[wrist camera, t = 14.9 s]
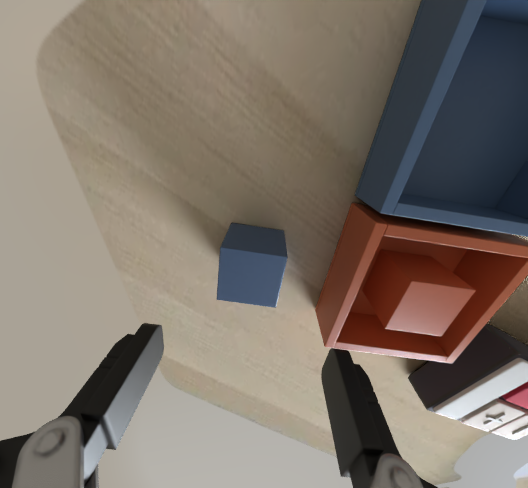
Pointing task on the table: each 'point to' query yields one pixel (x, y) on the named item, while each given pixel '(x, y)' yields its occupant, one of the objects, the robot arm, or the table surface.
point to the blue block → (251, 265)
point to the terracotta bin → (420, 243)
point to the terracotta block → (415, 293)
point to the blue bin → (457, 120)
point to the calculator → (480, 384)
